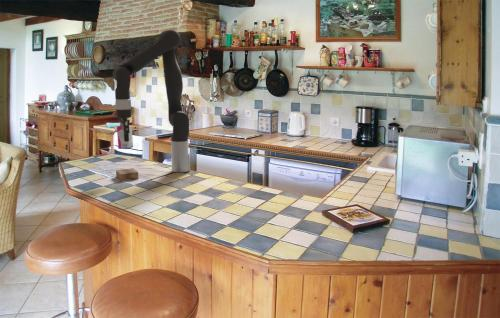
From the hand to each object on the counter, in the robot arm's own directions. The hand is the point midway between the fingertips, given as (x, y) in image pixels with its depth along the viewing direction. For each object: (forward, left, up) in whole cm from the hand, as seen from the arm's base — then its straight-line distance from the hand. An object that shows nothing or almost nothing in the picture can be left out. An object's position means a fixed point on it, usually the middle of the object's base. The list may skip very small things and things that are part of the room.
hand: (125, 140), depth 209 cm
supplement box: (0, 0, -4) cm, 4 cm away
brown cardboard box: (0, 0, -20) cm, 20 cm away
